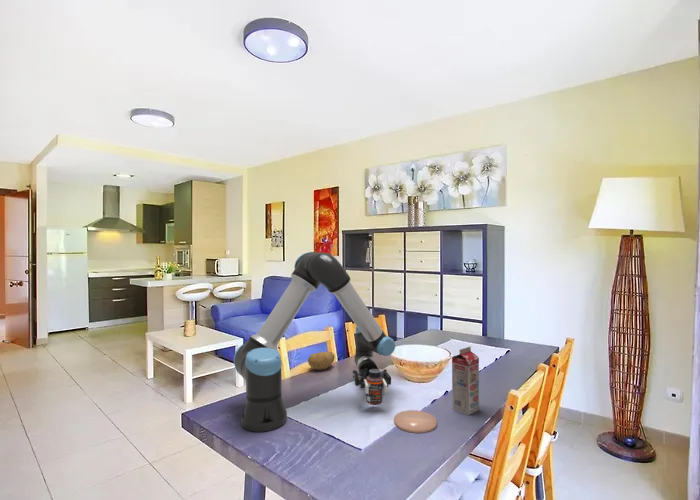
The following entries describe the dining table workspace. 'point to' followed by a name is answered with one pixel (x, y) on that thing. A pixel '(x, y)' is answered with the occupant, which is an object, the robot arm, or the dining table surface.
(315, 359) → the potato
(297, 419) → the dining table surface
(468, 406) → the juice carton
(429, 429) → the saucer
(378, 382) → the supplement bottle
